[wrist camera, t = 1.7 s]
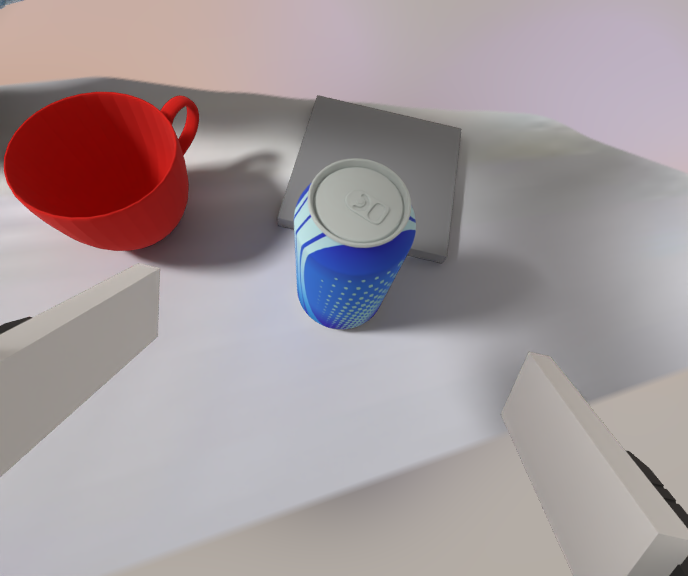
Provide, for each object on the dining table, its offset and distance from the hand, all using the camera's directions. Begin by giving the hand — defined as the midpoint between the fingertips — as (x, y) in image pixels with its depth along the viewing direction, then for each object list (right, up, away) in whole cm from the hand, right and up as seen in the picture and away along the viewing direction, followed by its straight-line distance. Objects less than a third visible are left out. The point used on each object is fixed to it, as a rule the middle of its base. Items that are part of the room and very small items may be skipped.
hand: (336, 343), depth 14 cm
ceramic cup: (-20, +11, +27) cm, 35 cm away
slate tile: (+4, +15, +31) cm, 35 cm away
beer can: (0, +1, +25) cm, 26 cm away
